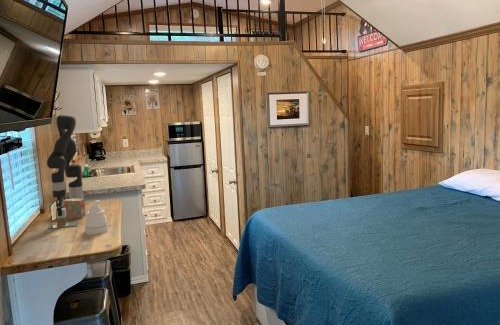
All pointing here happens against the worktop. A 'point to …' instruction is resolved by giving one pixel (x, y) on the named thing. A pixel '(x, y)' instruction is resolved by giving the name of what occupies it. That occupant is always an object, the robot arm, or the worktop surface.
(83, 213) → the stack of blocks
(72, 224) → the slate board
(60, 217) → the sage cube
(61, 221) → the walnut cube
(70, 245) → the worktop surface
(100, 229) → the white tiered cone
